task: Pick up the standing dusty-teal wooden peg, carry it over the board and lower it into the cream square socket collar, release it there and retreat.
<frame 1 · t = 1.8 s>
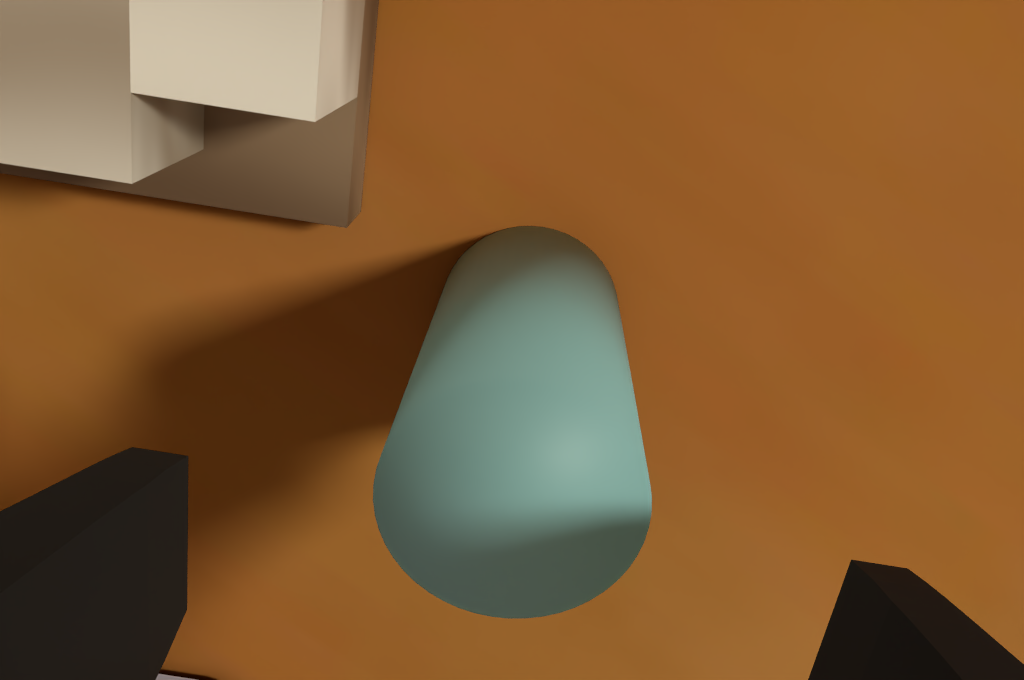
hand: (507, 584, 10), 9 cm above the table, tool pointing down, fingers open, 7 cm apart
peg: (529, 311, 18), on the table
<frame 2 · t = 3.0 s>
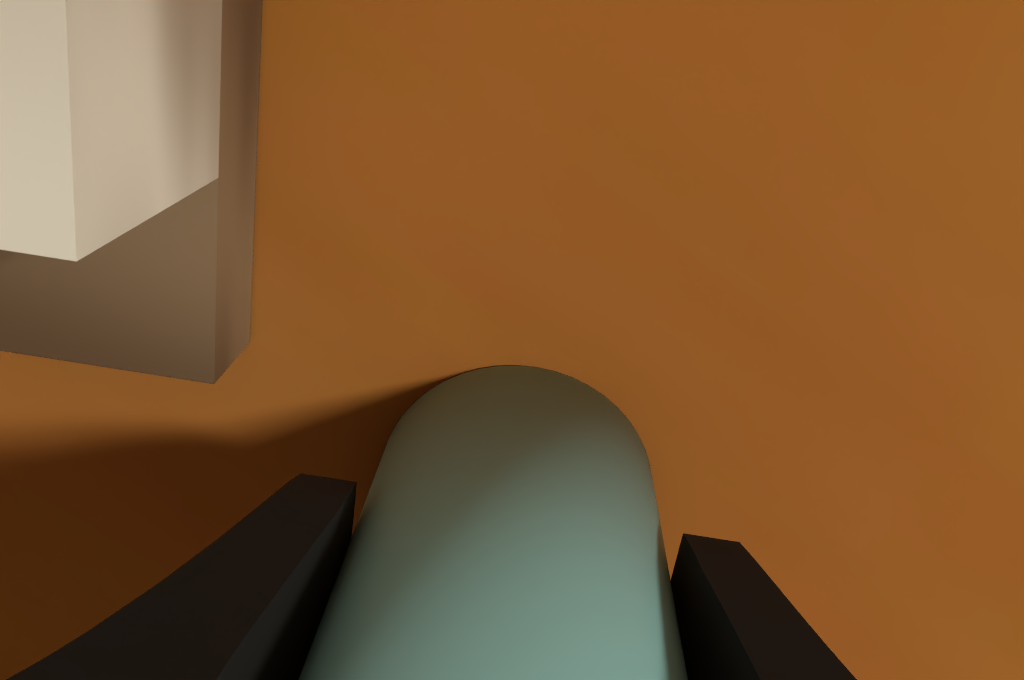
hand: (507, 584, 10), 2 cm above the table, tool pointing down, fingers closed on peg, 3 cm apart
peg: (515, 489, 11), on the table, touching gripper
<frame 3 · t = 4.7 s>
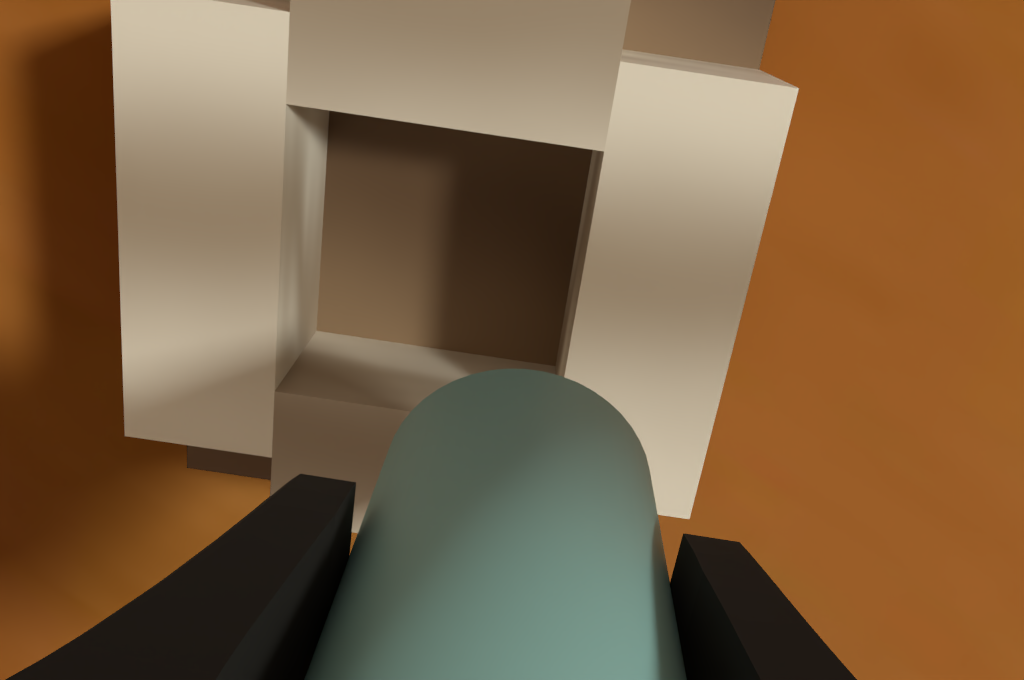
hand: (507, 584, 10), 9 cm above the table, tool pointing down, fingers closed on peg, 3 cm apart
socket board: (456, 216, 18), on the table
peg: (516, 490, 12), point 7 cm above the table, touching gripper
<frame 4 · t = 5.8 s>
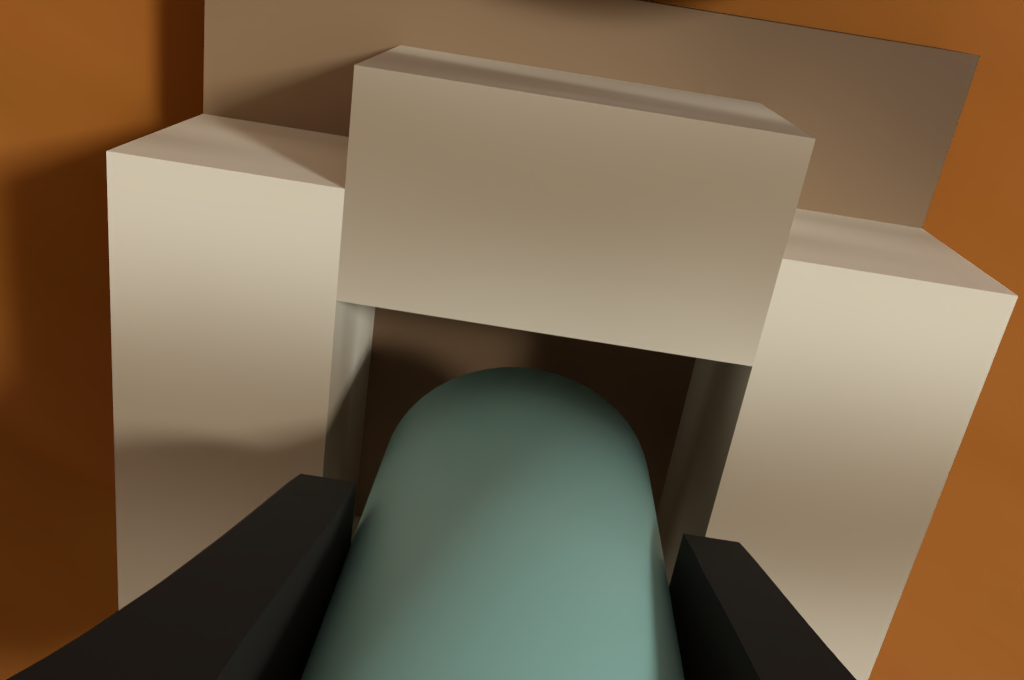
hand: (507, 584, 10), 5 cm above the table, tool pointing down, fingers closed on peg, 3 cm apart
socket board: (525, 376, 15), on the table
peg: (514, 489, 12), point 3 cm above the table, touching gripper
when the fingers open (4 cm above the table, at t = 6.5 s): peg drops 1 cm, resting on socket board.
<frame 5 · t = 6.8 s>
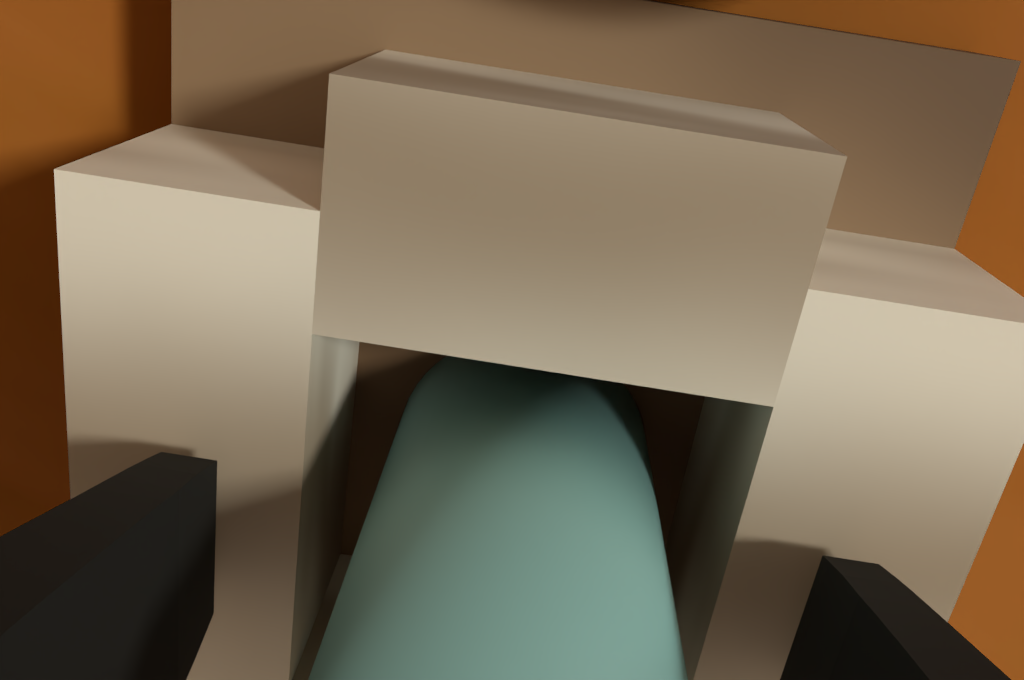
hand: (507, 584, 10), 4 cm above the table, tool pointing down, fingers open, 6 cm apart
socket board: (523, 403, 14), on the table
peg: (521, 448, 13), point 1 cm above the table, touching socket board
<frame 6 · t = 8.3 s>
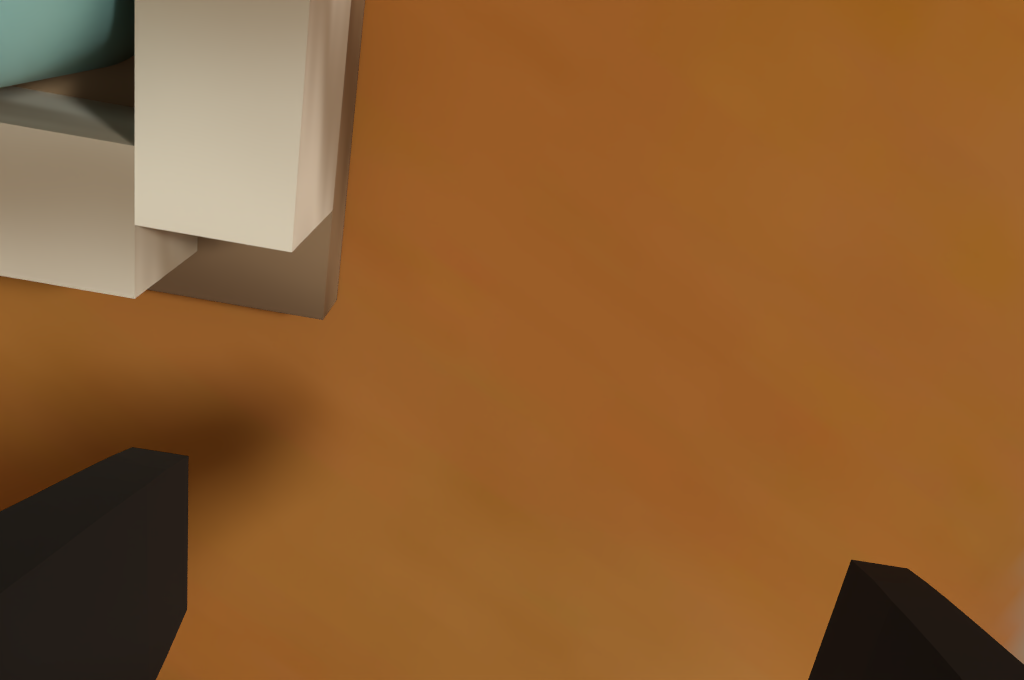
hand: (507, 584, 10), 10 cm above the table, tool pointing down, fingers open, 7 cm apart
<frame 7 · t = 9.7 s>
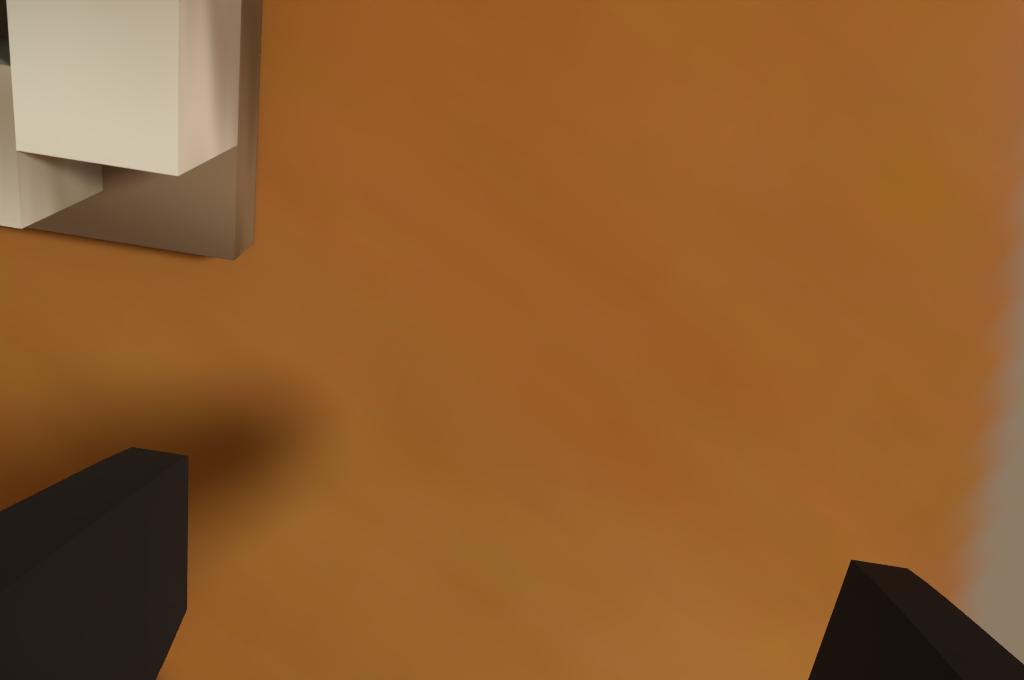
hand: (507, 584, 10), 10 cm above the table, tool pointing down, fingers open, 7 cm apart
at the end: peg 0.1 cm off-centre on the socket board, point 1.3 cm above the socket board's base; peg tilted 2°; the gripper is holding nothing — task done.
